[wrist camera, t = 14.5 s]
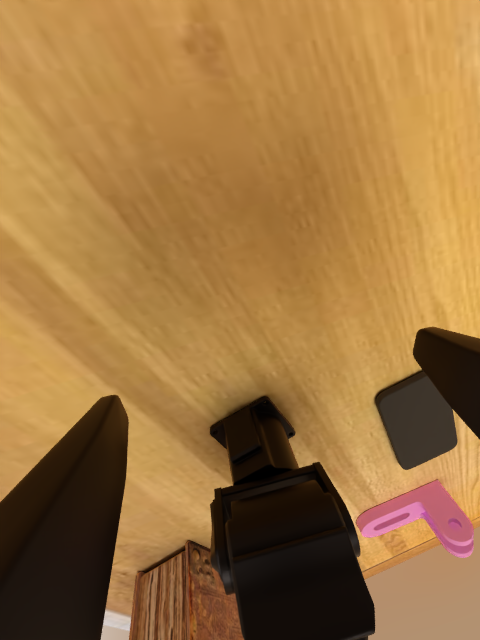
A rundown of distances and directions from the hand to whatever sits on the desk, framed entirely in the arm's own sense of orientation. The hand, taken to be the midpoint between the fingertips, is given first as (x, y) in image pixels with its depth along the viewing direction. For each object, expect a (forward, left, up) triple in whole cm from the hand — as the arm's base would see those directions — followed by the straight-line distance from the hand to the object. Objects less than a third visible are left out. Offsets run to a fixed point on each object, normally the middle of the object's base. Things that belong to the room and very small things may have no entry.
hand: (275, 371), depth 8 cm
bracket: (-47, -1, -13) cm, 48 cm away
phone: (-29, -8, -13) cm, 32 cm away
